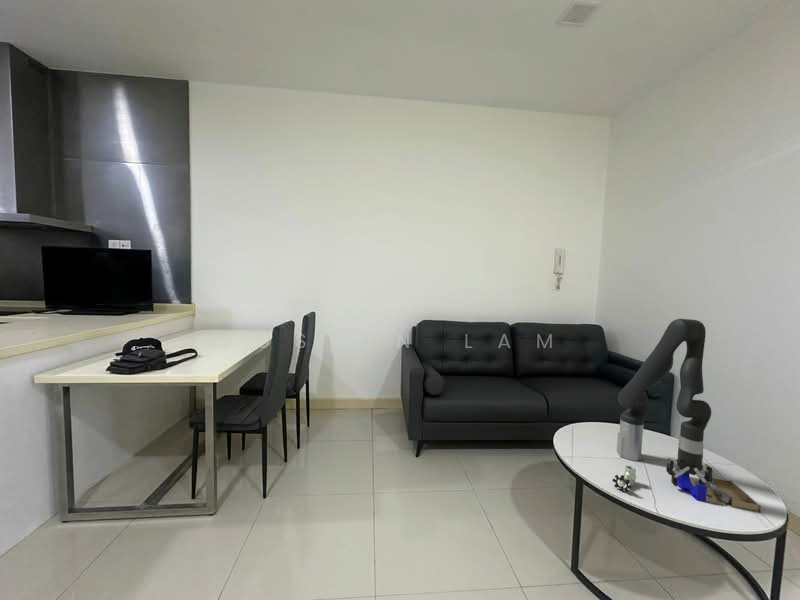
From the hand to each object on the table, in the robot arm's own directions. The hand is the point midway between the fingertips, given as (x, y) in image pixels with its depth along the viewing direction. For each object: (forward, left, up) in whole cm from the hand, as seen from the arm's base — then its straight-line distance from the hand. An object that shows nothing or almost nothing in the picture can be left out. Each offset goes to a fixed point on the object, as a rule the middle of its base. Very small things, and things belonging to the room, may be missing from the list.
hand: (687, 487), depth 135 cm
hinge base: (+12, +3, -2) cm, 12 cm away
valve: (-23, -5, -2) cm, 24 cm away
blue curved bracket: (+1, 0, -2) cm, 2 cm away
